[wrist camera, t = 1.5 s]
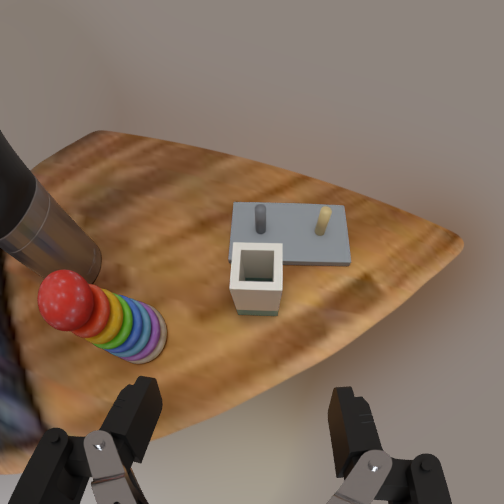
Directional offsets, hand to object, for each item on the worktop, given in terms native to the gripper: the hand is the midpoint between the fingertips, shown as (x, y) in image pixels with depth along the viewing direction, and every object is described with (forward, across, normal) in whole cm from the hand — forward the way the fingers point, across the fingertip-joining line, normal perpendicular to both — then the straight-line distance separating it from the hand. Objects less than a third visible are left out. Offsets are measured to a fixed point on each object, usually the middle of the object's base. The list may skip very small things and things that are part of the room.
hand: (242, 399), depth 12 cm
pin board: (+30, -4, +1) cm, 30 cm away
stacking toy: (+20, +15, +11) cm, 27 cm away
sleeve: (+24, 0, +7) cm, 25 cm away
